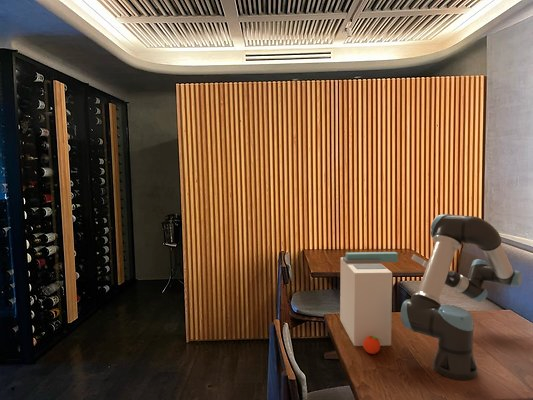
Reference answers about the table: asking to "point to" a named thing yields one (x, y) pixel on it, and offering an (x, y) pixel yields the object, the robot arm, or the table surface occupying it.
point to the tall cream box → (366, 300)
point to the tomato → (371, 344)
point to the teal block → (373, 256)
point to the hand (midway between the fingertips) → (418, 259)
